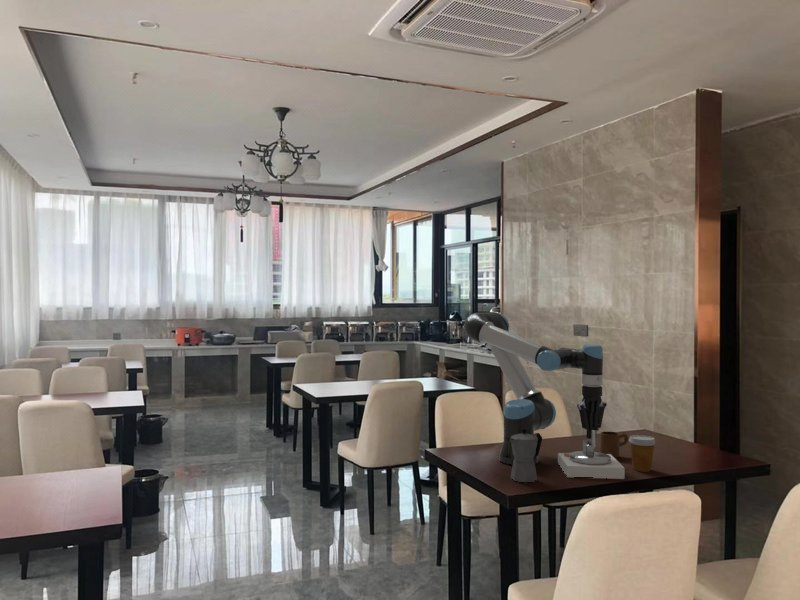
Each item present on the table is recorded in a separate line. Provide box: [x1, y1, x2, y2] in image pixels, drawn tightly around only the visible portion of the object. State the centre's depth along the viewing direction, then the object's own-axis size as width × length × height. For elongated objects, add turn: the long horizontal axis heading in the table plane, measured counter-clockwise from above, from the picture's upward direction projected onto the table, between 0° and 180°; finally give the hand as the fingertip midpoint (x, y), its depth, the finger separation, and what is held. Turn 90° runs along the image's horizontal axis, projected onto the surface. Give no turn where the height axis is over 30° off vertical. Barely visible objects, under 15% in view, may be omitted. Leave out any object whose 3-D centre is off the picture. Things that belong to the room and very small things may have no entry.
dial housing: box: [557, 452, 626, 480], centre depth 238 cm, size 20×20×5 cm
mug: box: [599, 431, 629, 459], centre depth 261 cm, size 12×8×9 cm, turn 103°
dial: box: [568, 439, 611, 465], centre depth 239 cm, size 16×15×5 cm
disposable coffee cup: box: [628, 434, 657, 473], centre depth 241 cm, size 10×10×12 cm
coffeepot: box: [509, 428, 543, 483], centre depth 226 cm, size 15×9×18 cm, turn 125°
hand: (591, 446), depth 245 cm, fingers closed
